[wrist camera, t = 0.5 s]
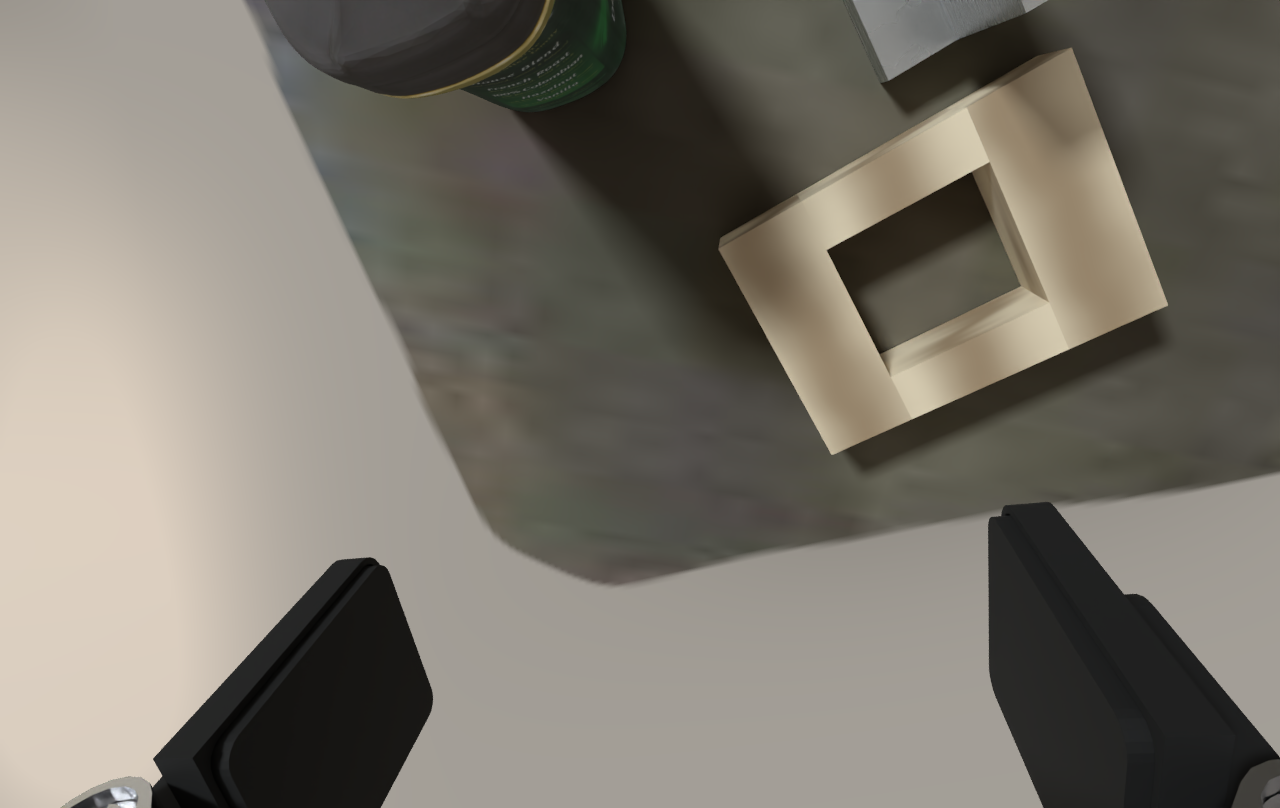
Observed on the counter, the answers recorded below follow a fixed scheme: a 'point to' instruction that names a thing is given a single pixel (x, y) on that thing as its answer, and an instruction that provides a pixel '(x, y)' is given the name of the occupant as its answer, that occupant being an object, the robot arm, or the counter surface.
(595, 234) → the counter surface
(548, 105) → the coffee jar
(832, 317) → the block
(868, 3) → the bracket
